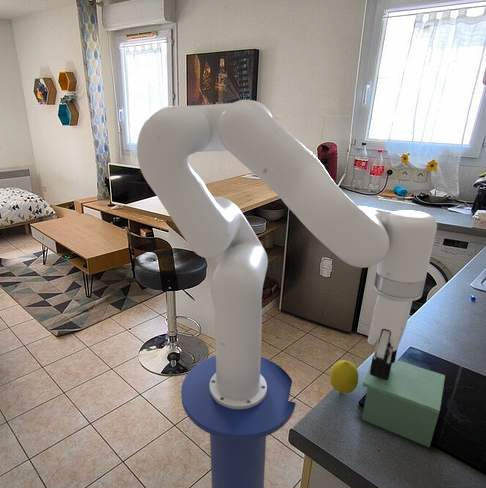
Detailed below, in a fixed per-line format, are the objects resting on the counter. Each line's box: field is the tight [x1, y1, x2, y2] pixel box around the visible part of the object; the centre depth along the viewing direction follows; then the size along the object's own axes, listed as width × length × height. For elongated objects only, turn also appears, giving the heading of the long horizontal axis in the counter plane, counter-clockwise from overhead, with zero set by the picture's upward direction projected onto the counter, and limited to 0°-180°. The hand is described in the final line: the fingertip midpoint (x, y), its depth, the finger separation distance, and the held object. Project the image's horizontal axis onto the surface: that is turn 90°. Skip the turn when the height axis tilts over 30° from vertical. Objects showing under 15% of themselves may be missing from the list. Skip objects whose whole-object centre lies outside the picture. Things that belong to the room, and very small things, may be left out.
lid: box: [362, 343, 446, 415], centre depth 67 cm, size 12×10×6 cm
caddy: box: [361, 387, 440, 448], centre depth 69 cm, size 11×10×8 cm
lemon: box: [329, 359, 359, 395], centre depth 75 cm, size 6×6×8 cm
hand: (382, 367), depth 69 cm, fingers closed on lid, 5 cm apart
